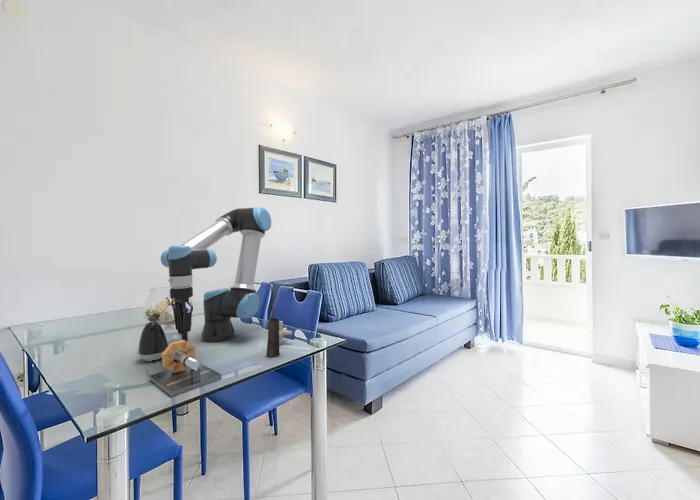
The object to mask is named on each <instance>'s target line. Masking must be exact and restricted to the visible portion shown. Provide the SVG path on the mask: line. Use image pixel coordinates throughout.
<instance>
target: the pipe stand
mask: <svg viewBox="0 0 700 500" xmlns="http://www.w3.org/2000/svg"><path fill="white" fill-rule="evenodd" d="M173 362H175V363H176V362H180V363H182V364H183V365H184V366H186V367H188V368H187V369H185V370H182V371H179V372H176V373H174V372H172V371H170V370H169V369H166V370H162V371H160V372H159V371H158V372H156V373H153V374H150V375H148V380H149V379H150V380H151V381H153V382H154V383H155V384H156V385H158V386H159V387H160V388H161V389H162V391H163V390H164V391H165V392H166V393H165V392H164V391H163V392H164V393H165V394H167V393H168V394H169V395H170V396H171V398H173V397H175V396H174V395H176V396H178V395H177V394H179V395H181V394H184V393H186V392H189V391H192V390H194V389H197V388H200V387H202V386H205V385H208V384H211V383H214V382H216V381H220V380H221V379H222V374H221V373H219V372H218V371H216V370H214V369H212V368H210V367H208V366H206V365H205V364H202V363H201V361H199V360H197V359H196V358H195V359H194V358H193V357H192V356H188V355H186V354H185V352H183V351H180V350H179V351H177V352H176V353H175V354H174V355H173ZM150 380H149V381H150ZM151 381H150V382H151ZM154 383H153V384H154ZM155 384H154V385H155ZM156 385H155V386H156ZM158 386H157V387H158ZM159 387H158V388H159ZM160 388H159V389H160ZM168 394H167V395H168ZM169 395H168V396H169ZM170 396H169V397H170Z"/></svg>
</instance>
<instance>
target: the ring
mask: <svg viewBox="0 0 700 500" xmlns="http://www.w3.org/2000/svg"><path fill="white" fill-rule="evenodd" d="M195 349H196V348H195V346H194V345H192V344H191V343H190V342H189V341H188V342H186V341H185V340H181V341H179V340H177V341H173V342H170V343H169V344H168V347H167V348H166V349H165V351H164V352H163V353H162V358H161V362H162V367H163V368H166V370H170V371H172V372H174V373H176V372H179V371H182V370H185V369H187V368H188V367H186V366H184V365H183V364H182V363H180V362H176V363H175V362H173V355H174V354H175V353H176V352H177V351H180V350H183V351H184V354H186V355H188V356H192V357H193V358H194V359H196V351H195Z"/></svg>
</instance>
